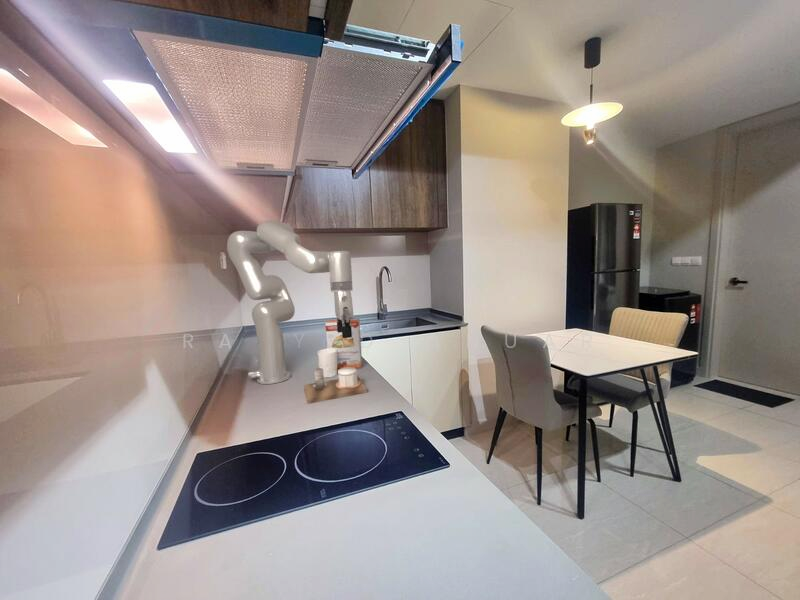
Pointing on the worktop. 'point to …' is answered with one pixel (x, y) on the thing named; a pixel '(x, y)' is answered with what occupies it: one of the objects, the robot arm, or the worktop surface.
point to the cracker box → (345, 344)
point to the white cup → (328, 362)
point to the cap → (347, 376)
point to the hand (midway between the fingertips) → (344, 334)
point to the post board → (330, 389)
